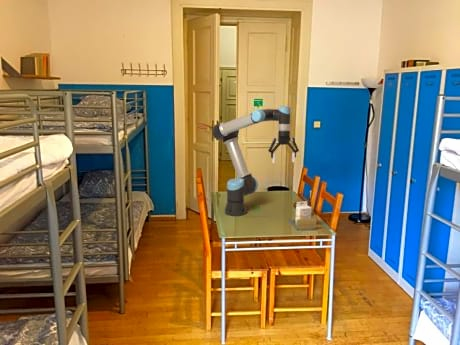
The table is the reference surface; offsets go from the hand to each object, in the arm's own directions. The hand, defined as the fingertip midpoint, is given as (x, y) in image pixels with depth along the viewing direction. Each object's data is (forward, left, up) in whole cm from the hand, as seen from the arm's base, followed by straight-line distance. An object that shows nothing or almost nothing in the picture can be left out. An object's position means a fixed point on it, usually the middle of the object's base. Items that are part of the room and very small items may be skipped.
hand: (283, 162), depth 266 cm
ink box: (+7, -23, -36) cm, 43 cm away
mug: (+14, 0, -37) cm, 39 cm away
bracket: (+7, -21, -37) cm, 43 cm away
